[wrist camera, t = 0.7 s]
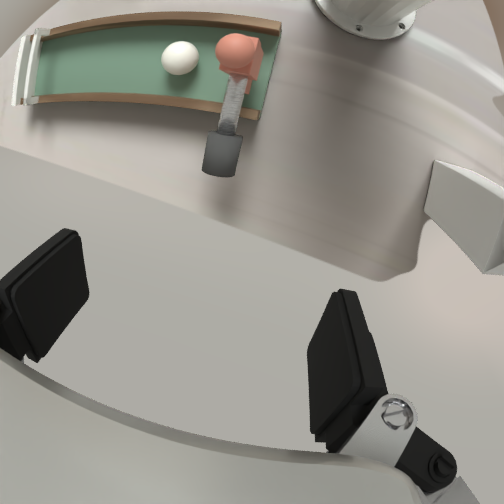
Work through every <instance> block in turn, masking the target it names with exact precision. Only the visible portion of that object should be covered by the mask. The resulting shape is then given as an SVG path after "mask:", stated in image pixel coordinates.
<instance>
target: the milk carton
mask: <svg viewBox="0 0 504 504" xmlns="http://www.w3.org/2000/svg"><path fill="white" fill-rule="evenodd" d="M424 212H425V213H426V214H427V215H428V216H429V217H430V218H431V219H432V220H433V221H434V222H436V224H437V225H438V226H439V227H440V228H442V230H443V231H445V232H446V233H447V235H448V236H449V237H450V238H451V239H452V240H453V241H454V242H455V243H456V244H457V245H458V246H459V247H460V248H461V250H462V251H463V252H464V253H465V254H466V255H467V256H468V257H469V258H470V260H471V261H472V262H473V263H474V264H475V265H476V267H477V268H478V269H479V270H480V271H481V272H482V274H491V275H504V188H503V187H501V186H499V185H498V184H496V183H494V182H492V181H491V180H489V179H487V178H485V177H483V176H482V175H480V174H478V173H476V172H474V171H472V170H469V169H466V168H463V167H459V166H456V165H453V164H449V163H445V162H442V161H438V160H434V165H433V170H432V175H431V180H430V185H429V190H428V194H427V199H426V203H425V207H424Z"/></svg>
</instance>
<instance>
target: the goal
mask: <svg viewBox="0 0 504 504" xmlns="http://www.w3.org/2000/svg"><path fill="white" fill-rule="evenodd" d="M50 30H51V29H45V28H37V29H35V33H34V37H33V41H30V37H31V35H25V36H23V37H22V39H21V43H20V48H19V53H18V58H17V64H16V70H15V77H14V84H13V94H12V106H16V105H20V101H21V98H24V101H23V106H24V105H30V104H35V103H38V101H39V96H35V97H31V96H34V93H35V85H36V77H37V70H38V64H39V59H40V53H41V48H42V44H43V42H40V39H41V36H45V37H46V36H49V34H50Z"/></svg>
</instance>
